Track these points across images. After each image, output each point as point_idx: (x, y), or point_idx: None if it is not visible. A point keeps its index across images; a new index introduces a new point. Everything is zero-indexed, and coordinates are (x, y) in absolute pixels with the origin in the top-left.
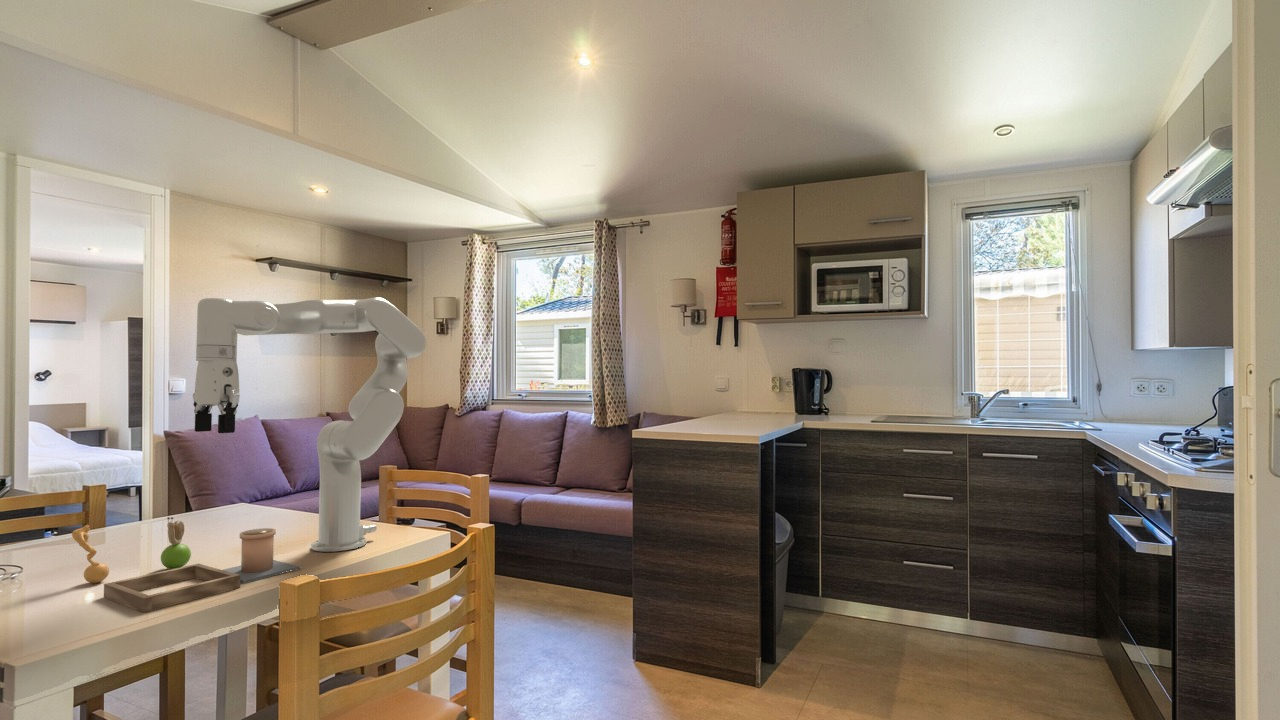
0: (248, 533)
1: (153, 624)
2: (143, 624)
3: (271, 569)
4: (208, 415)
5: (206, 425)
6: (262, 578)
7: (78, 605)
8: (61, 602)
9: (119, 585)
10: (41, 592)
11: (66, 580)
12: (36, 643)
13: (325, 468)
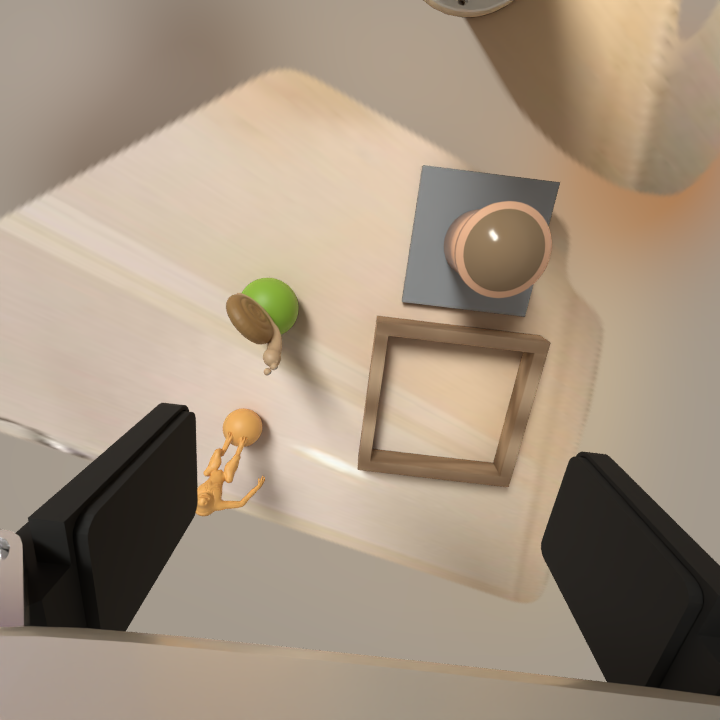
0: (500, 281)
1: None
2: (551, 498)
3: None
4: (107, 543)
5: (174, 476)
6: None
7: (366, 489)
8: (325, 491)
9: (392, 465)
10: (233, 477)
11: None
12: (485, 573)
13: None
